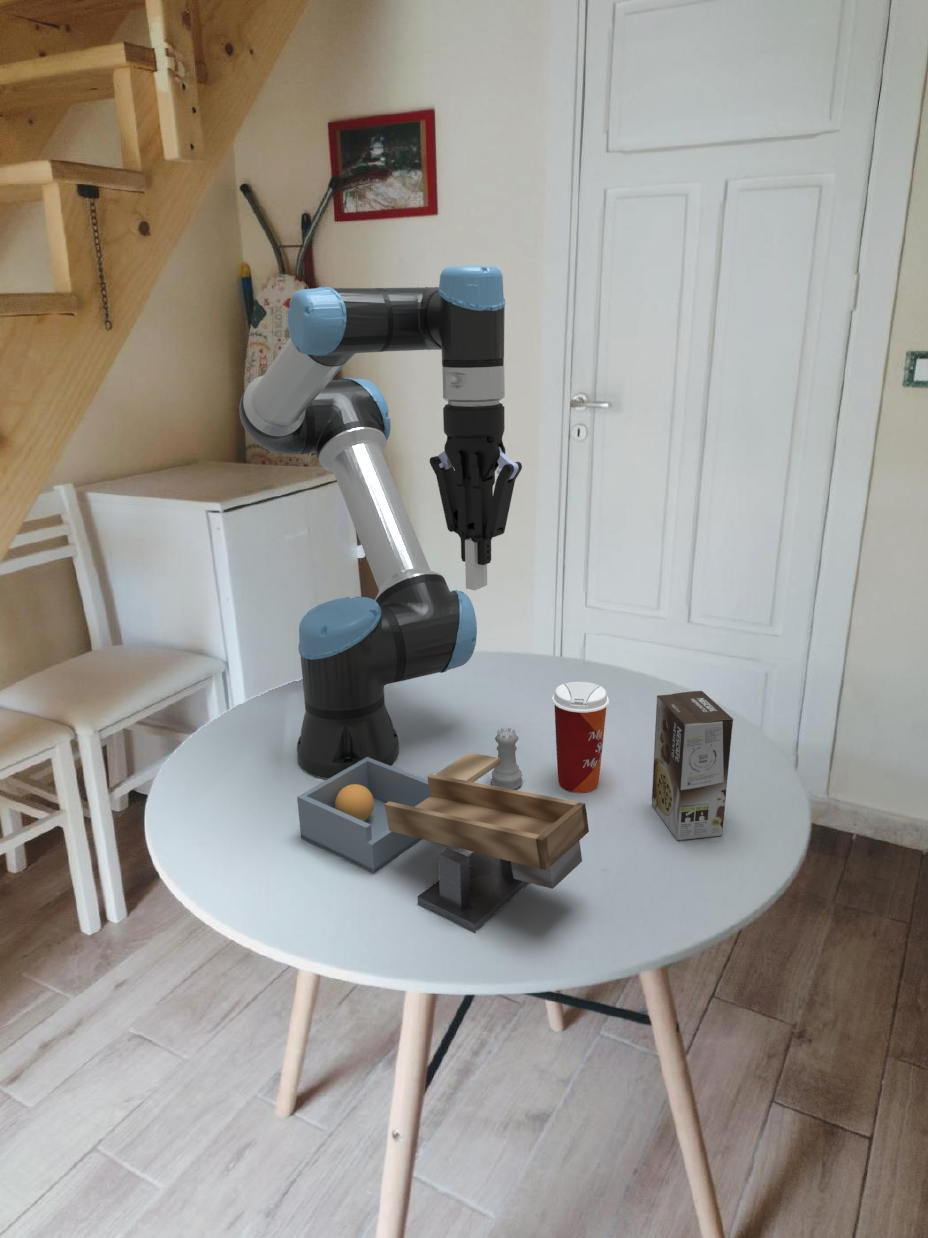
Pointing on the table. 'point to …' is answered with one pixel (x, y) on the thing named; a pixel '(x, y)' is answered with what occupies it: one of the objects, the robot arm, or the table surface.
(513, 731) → the rook chess piece
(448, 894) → the stand
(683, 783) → the coffee box
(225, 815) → the table surface
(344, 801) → the ball
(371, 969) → the table surface
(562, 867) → the chute
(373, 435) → the robot arm
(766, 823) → the table surface
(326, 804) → the bin
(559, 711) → the paper cup
